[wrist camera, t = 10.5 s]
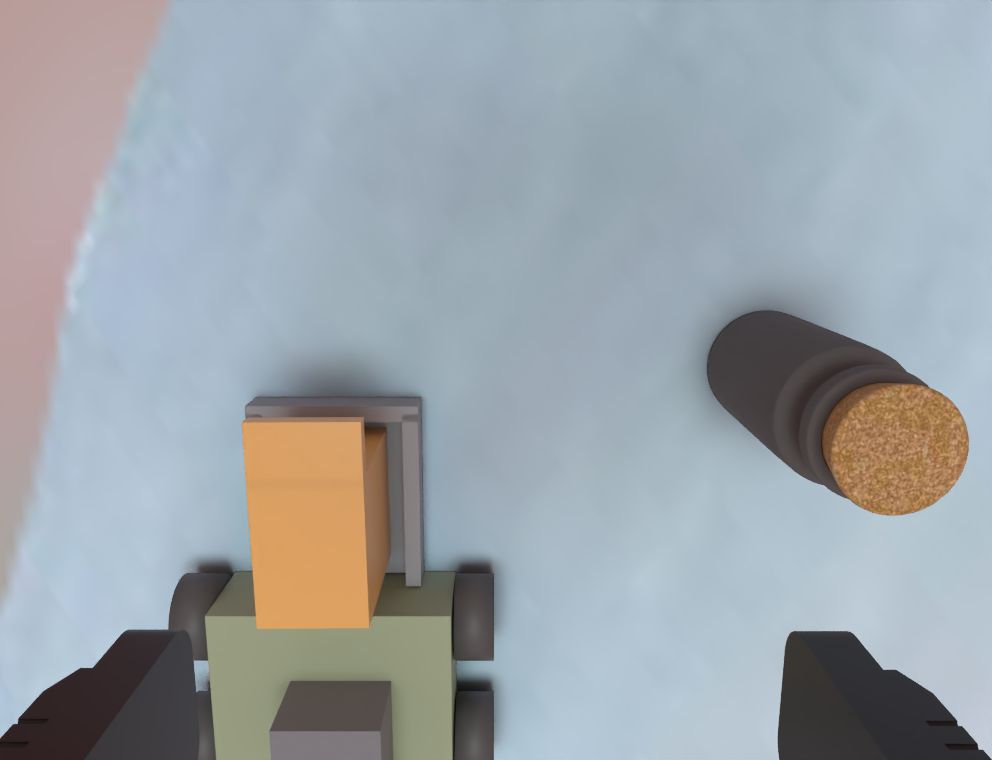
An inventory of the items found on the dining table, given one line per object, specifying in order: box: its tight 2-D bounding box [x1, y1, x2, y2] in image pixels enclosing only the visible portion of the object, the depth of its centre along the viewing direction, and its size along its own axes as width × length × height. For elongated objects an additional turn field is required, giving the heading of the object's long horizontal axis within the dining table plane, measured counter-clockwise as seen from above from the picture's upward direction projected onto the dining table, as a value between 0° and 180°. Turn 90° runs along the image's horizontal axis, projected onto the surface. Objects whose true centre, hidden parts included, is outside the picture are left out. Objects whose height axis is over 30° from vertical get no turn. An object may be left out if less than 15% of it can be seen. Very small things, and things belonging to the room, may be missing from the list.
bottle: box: [707, 311, 969, 515], centre depth 36 cm, size 6×6×15 cm
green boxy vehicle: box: [169, 397, 494, 760], centre depth 41 cm, size 20×16×9 cm
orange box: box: [242, 417, 391, 629], centre depth 40 cm, size 10×5×8 cm, turn 0°
